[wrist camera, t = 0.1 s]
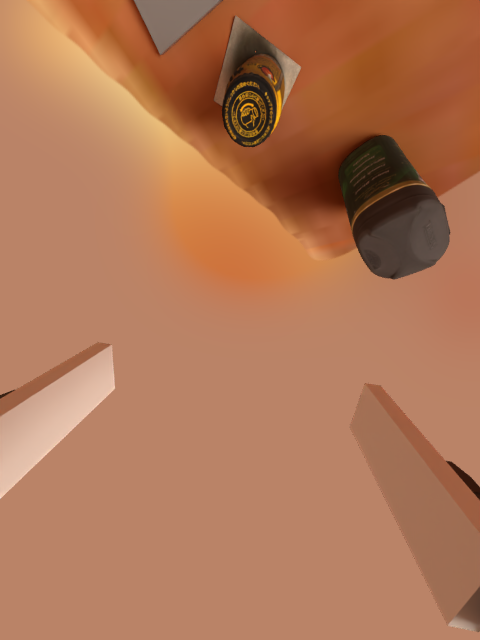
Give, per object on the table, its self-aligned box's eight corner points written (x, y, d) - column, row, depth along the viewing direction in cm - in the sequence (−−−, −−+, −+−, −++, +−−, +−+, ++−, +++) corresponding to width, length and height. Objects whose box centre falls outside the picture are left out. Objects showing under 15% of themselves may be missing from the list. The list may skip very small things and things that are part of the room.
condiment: (269, 136, 32) (261, 170, 24) (213, 100, 29) (187, 125, 22) (301, 66, 26) (303, 84, 19) (235, 15, 24) (210, 13, 17)
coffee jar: (329, 166, 33) (345, 238, 22) (389, 120, 28) (447, 183, 17) (355, 216, 38) (378, 294, 27) (409, 184, 34) (464, 263, 23)
